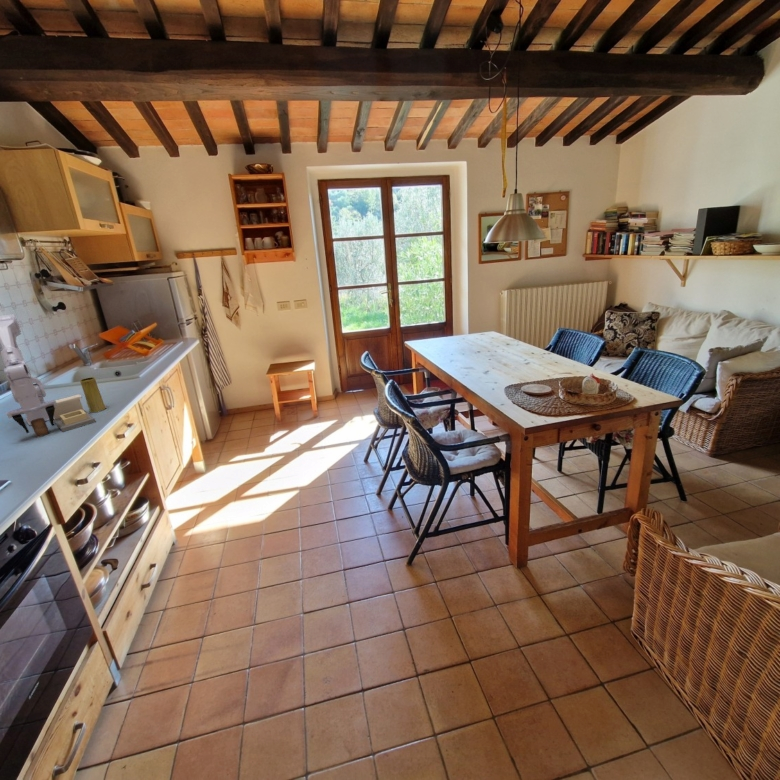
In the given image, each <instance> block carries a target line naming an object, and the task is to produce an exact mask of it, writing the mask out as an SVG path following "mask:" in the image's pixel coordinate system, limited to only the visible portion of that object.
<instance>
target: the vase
mask: <svg viewBox="0 0 780 780" xmlns="http://www.w3.org/2000/svg"><path fill="white" fill-rule="evenodd" d="M79 383H80V385H81V388H82V391H83V393H84V398H85V400H86V405H87V407H88V411H89V413H99V412H102V411H104V410H106V409H105V408H107V406H106V405H105V403H104V399H103V397H102V394H101V392H100V389H99V386H98V383H97V380H96V378H95V377H94V376H90V377H85V378H82V379H80V381H79ZM101 410H102V411H101ZM98 411H99V412H98Z"/></svg>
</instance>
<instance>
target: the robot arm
mask: <svg viewBox="0 0 780 780" xmlns="http://www.w3.org/2000/svg"><path fill="white" fill-rule="evenodd" d="M20 328H21V327H20V324H19V322H18V320H17V318H16V315H15V314H13V313H10V314H4V315H0V345H1V347H2V350H1V351H0V357H1V360H2V362H3V366H4V368H3V372H4V375H5V378H6V379H7V380H8V382H9V384H10V385H9V388H10V391H11V394H12V398H13V399H14V401H15V403H17V404H19V406H20V407H19V408H17V409H13V410H9V411H6V412H5V414H6V416H7V417H8V419H11V418H12V419H13V420H14V421H15V422H16V423H18V424H19V425H20V426H21V427H22V429H24V431H25V432H26V434H29V433H30V431H29V429H28V427H27V425H26V423H27V424H28V426H32V425H31V422H30V421H32V420H34V419H38V418H44V420H45V422H47V421H49V423H50V425H51V427H52V426H55V422H54V419H55V418H54V411H55V407H54V406H57V403H56V401H55V399H53V400H49V401H45V399H44V398H46V396H47V394H46V390H45V388H44V386H43V384H42V382H41V380H40V379H39V378H37V377H33V376H32V374H31V372H30V369H29V367H28V364H27V363H26V362H25V359H24V357H23V356H24V355H23V353H22V352H21V350H20V349H19V346H18V343H17V337H19V336H20V335H22V333H21V332H22V331H21V329H20ZM22 415H25V416H26V419H25V420H24V417H23V416H22ZM25 421H26V423H25Z"/></svg>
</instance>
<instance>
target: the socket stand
mask: <svg viewBox="0 0 780 780" xmlns="http://www.w3.org/2000/svg"><path fill="white" fill-rule="evenodd" d="M81 399H83V396H82V395H81V394H79V393H78V394H75V395H72V396H67V397H64V398H60V399H56V400H55V399H54V400H55V401H56V403H57V406H54V407H55V411H54V424H55V425H56V426H57V427H58V428H59V429H60V431H61V432H62V433H64V432H67V431H71V430H74V429H78V428H81V427H83V426H87V425H90V424H93V423H94V424H95V423H96V422H97V421H96V419H95V417H93V416H92V415H91V414H90V412H87V411H86V409H84V407H83V405H82V402H81Z"/></svg>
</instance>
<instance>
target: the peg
mask: <svg viewBox="0 0 780 780" xmlns="http://www.w3.org/2000/svg"><path fill="white" fill-rule="evenodd" d="M30 422H31V425H30V426H31V427H32V429H33V432H34V433H35V437H39V438H40V437H44V436H47V435H49V434H50V431H49V429H48V428H49V427H48V425H47V424H46V421H45V420H44V418H38V419H34V420H32V421H30Z"/></svg>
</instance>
